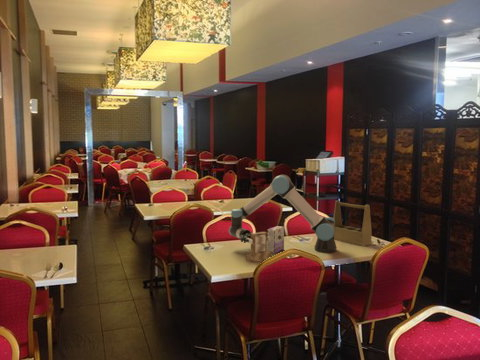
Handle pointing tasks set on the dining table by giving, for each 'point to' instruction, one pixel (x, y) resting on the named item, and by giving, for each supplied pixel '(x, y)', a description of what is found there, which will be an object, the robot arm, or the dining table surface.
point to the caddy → (351, 233)
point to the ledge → (259, 256)
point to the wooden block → (259, 242)
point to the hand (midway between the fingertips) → (261, 240)
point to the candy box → (275, 239)
